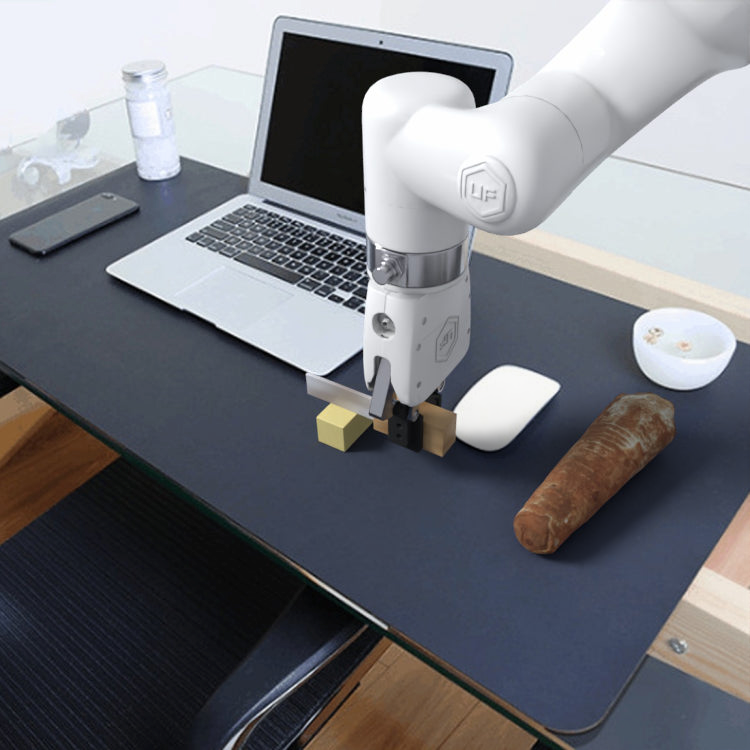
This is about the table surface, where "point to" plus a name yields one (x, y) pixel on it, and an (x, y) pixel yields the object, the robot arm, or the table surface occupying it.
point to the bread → (595, 469)
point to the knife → (435, 421)
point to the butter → (340, 426)
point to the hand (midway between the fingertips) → (414, 433)
